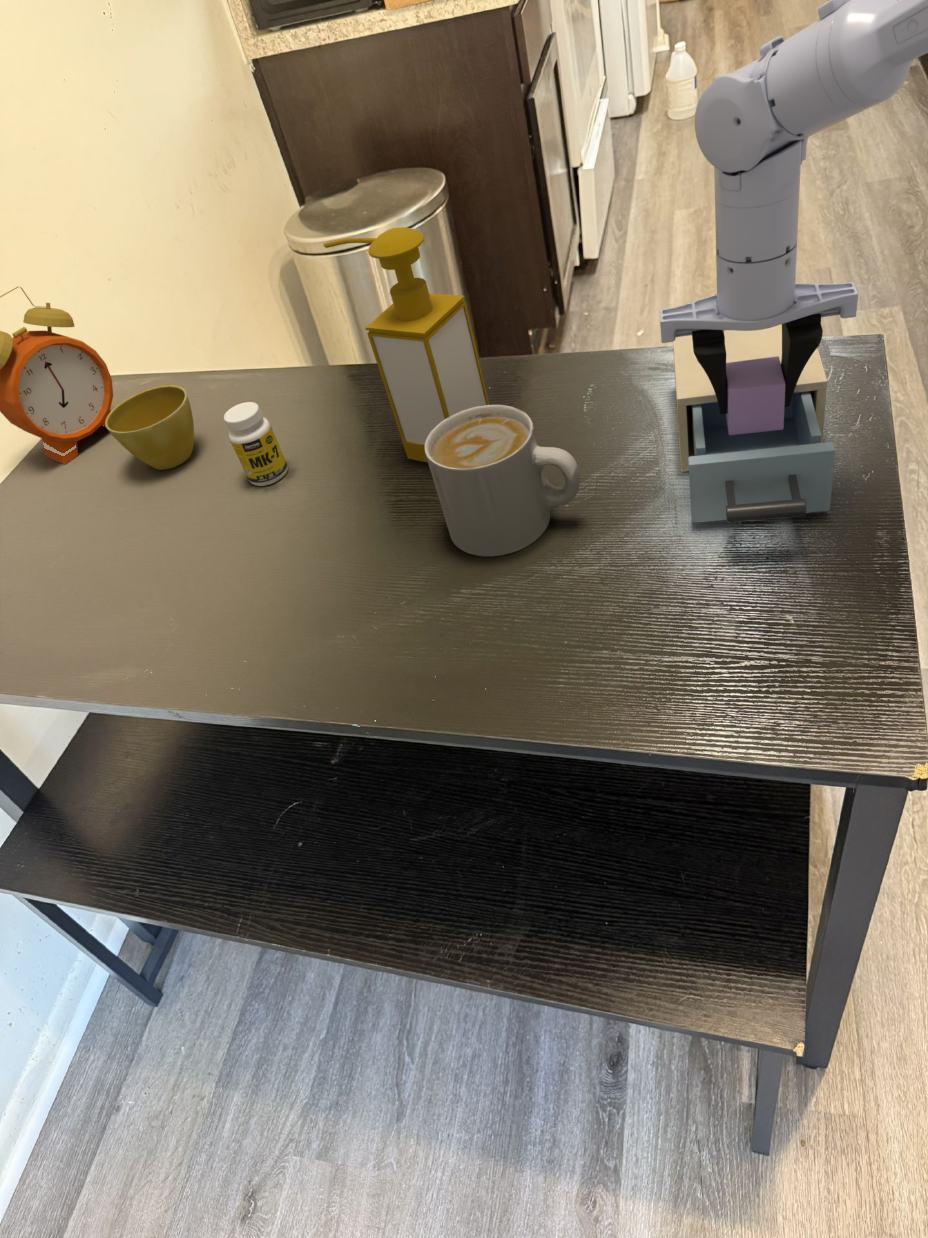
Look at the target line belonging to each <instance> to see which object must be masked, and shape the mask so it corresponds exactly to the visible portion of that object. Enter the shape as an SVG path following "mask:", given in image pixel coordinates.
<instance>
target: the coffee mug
mask: <svg viewBox="0 0 928 1238" xmlns="http://www.w3.org/2000/svg"><path fill="white" fill-rule="evenodd" d="M425 454H426V458H427V461H428V462H427V464H428V468H429V471H430V474H431V477H432V481H433V484H434V487H435V491H436V494H437V497H438V501H439V504H440V507H441V511H442V513H443V516H444V520H445V523H446V527H447V530H448V533H449V537H450V540H451V542H452V543H453V544H454V545H455V547H457V548H458V549H459V550H461V551H463V552H465V553H467V554H469V555H472V556H477V557H500V556H505V555H508V554H512V553H515V552H518V551H521V550H523V549H525V548H527V547H528V546H530V545H531V544H533V543H534V542H536V541H537V540H538V539H539V538H540V537H542V535H543V534H544V533H545V531H546V530H547V528H548V527H549V523H550V520H551V510H552V509H555V508H559V507H561V506H565V505H566V504H568V503H570V502H572V501H573V500H574V499H575V497H576V496H577V494H578V492H579V489H580V481H581V478H580V477H581V475H580V469H579V466H578V463H577V461H576V459H575V458H574V457H573V456H572V454H570V452H568V451H567V450H565V449H562V448H559V447H553V446H540V445H538V441H537V437H536V430H535V426H534V423H533V421H532V419H531V417H530V415H528V414H527V413H526V412H525V411H524V410H521V409H519V408H517V407H514V406H510V405H505V404H490V405H485V406H478V407H473V408H470V409H467V410H463V411H461V412H458V413H456V414H454V415H452V416H450V417H448V418H446V419H445V420H443V421H442V422H441V423H439V424H438V425H437V426H436V427H435V428H434V429H433V430H432V431H431V432H430V434H429V435H428V437H427V439H426V442H425ZM545 466H554V467H556V468H558V469H559V470H560V471H561V473H562V475H563V477H564V483H565V484H564V486H562V487H561V486H560V487H557V486H555V485H553V484H552V483H550V481H549V480H548V478H547V476H546V473H545V469H544V467H545Z"/></svg>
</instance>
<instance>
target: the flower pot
mask: <svg viewBox="0 0 928 1238" xmlns="http://www.w3.org/2000/svg"><path fill="white" fill-rule="evenodd" d="M110 411H111V412H110V413H109V415H108V416H107V418H106V421H105V425H106V428H105V429H107V430H108V432H109V433H110V434H111V435H112V436H113V438H114V439H115V440H116V441H117V442H118V443H119V444H120V445H121V446H122V447H123V448H124V449H126V451H127V452H129V453H130V454H132V455H133V456H134V457H135V458H137V459H138V460H140V461H142V462H143V463H145V464H147V465H148V466H150V467H152V468H154V469H156V470H163V471H164V470H170V469H173V468H176V467H178V466H180V465H181V464H183V463H184V462H186V461H187V460H188V459H189V458H190V457H191V455H192V454H193V449H194V441H195V440H194V439H195V427H194V426H195V424H194V416H193V411H192V406H191V403H190V399H189V396H188V393H187V390H185V388H183V387H181V386H180V385H172V384H167V385H159V386H154V387H151V388H148V389H145V390H142V391H140V392H138V393H136V394H133V395H132V396H129V397H128V398H126V399H124V400H123V401H121V402H120V403H118V404H117V405H116V406H115V407H114V408H113V409H112V410H110Z"/></svg>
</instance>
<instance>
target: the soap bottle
mask: <svg viewBox="0 0 928 1238" xmlns="http://www.w3.org/2000/svg"><path fill="white" fill-rule="evenodd" d="M424 242H425V235H424V233H422V232H421V231H419V230H418V229H415V228H412V227H411V228H410V227H405V226H401V227H400V226H399V227H391V228H390V229H387V230H385V231H383V232H381V233H380V234H378V235H377V237H346V238H341V239H336V240H331V241H328V242H324V243H323V247H324V248H325V249H328V248H333V247H336V246H341V245H346V244H370V245H369V247H368V251H367V253H368V255H369V256H370V258H374V259H378V261H379V264H380V267H381V268H382V269H383V270H388V271H393V270H394V274H395V276H396V280H397V282H396V283H395V284H393V285H392V286H391V287H390V289H389V294H390V298H391V300H392V301H391V302H392V304H391V305H389V306H388V307H387V308H385V310H384V311H382V312H381V313H380V314H379V315H378V316H376V317H375V319H373V320H372V321H371V322H370V323H369V324H367V326H365V328H364V329H365V331H368V332H367V333H366V335H367V338H368V340H369V344H370V346H371V349H372V350H371V351H372V353H373V356H374V359H375V362H376V365H377V368H378V371H379V374H380V378H381V380H382V383H383V386H384V389H385V393H386V396H387V399H388V402H389V405H390V408H391V411H392V414H393V417H394V421H395V424H396V427H397V429H398V433H399V436H400V439H401V442H402V446H403V449H404V452H405V455H406V457H407V460H412V461H418V462H423V463H428V461H427V458H426V454H425V442H426V439H427V437H428V435H429V434H430V432H431V431H432V430H433V429H434V428H435V427H436V426H437V425H438V424H439V423H441V422H442V421H443V420H445V419H446V418H448V417H450V416H452V415H454V414H456V413H458V412H461V411H463V410H467V409H470V408H473V407H478V406H485V405H491V404H490V400H489V396H488V391H487V387H486V382H485V378H484V374H483V370H482V366H481V362H480V361H481V360H480V357H479V353H478V348H477V344H476V340H475V339H476V338H475V335H474V332H473V331H474V330H473V326H472V323H471V318H470V314H469V313H470V312H469V310H468V305H467V301H465V298H466V296H465V295H458V294H457V295H456V294H443V293H431V292H430V291H429V288H428V283H427V280H425V279H424V278H422V277H415V275H414V272H413V267H412V265H413V264H415V263H417V262H418V260H419V259H420V258H421V252H420V248H419V247H420V246H421V245H422V244H423V243H424Z"/></svg>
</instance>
